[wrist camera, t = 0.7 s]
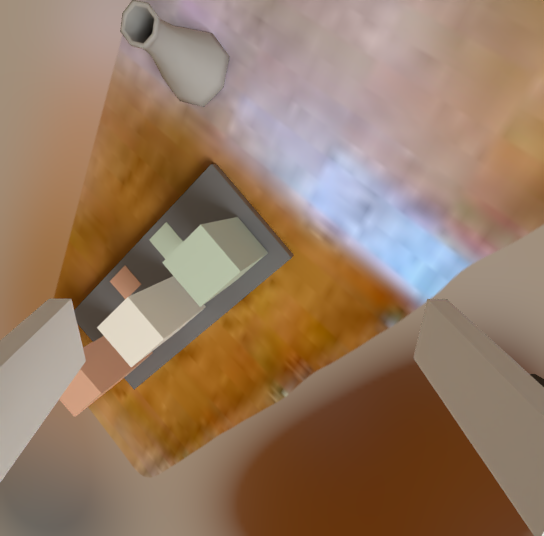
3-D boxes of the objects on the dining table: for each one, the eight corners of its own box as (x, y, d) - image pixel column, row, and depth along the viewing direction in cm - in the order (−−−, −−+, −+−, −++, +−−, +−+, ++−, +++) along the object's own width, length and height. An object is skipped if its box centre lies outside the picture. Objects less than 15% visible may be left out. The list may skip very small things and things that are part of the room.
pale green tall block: (237, 216, 36) (200, 224, 27) (268, 252, 36) (240, 271, 27) (206, 246, 37) (162, 262, 29) (235, 280, 37) (200, 307, 29)
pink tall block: (127, 322, 42) (68, 355, 34) (153, 352, 42) (101, 393, 34) (104, 344, 44) (43, 380, 35) (129, 373, 44) (74, 417, 35)
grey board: (217, 165, 37) (211, 163, 35) (293, 255, 37) (291, 258, 35) (78, 310, 46) (69, 314, 44) (141, 383, 46) (133, 389, 44)
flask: (154, 83, 37) (84, 44, 27) (185, 15, 34) (120, -52, 25) (207, 120, 36) (154, 94, 27) (242, 53, 34) (198, 0, 24)
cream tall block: (177, 274, 39) (127, 296, 30) (205, 306, 39) (163, 339, 30) (151, 299, 40) (96, 327, 32) (178, 330, 41) (131, 367, 32)
